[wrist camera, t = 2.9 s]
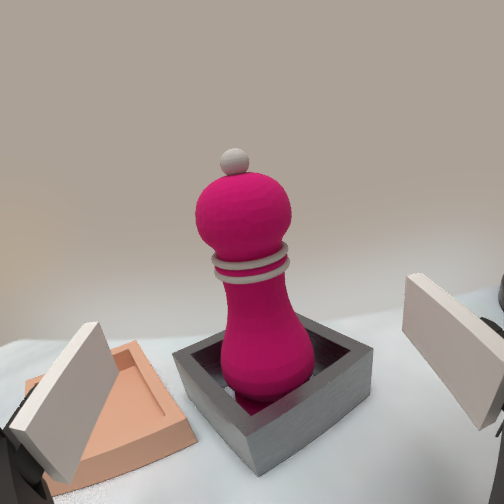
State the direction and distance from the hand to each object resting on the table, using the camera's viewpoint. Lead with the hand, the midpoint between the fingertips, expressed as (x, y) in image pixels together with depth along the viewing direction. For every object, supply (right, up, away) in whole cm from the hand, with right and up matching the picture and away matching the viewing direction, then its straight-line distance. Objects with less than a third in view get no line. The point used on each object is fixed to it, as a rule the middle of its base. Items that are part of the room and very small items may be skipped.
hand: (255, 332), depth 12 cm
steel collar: (+2, -9, +12) cm, 16 cm away
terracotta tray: (-14, -12, +11) cm, 22 cm away
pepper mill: (+2, -9, +12) cm, 16 cm away
